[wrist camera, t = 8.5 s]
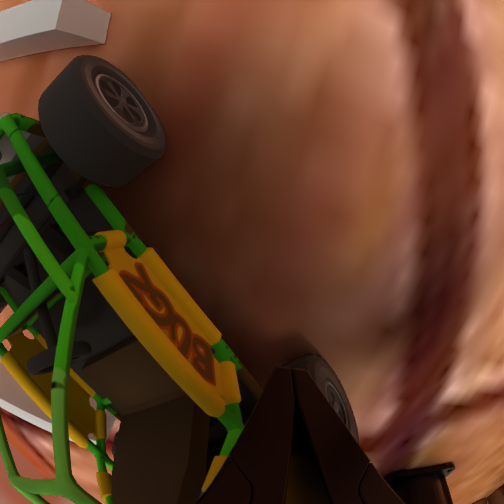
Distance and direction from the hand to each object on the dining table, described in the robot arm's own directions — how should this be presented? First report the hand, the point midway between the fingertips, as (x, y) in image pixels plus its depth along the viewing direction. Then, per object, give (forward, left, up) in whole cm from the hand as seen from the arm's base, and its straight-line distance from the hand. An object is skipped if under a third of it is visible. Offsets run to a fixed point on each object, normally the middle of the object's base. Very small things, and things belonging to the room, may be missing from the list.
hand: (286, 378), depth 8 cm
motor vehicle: (+5, +2, -5) cm, 8 cm away
